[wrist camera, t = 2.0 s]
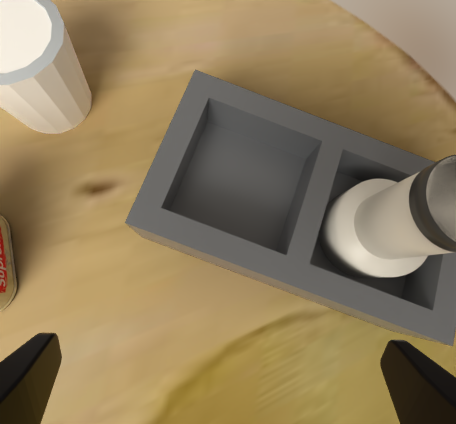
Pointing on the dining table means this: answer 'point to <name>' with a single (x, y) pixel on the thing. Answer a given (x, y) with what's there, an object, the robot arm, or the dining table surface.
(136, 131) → the dining table surface
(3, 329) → the dining table surface
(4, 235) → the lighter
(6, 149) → the dining table surface
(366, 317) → the compartment tray
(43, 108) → the shot glass
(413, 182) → the plug
